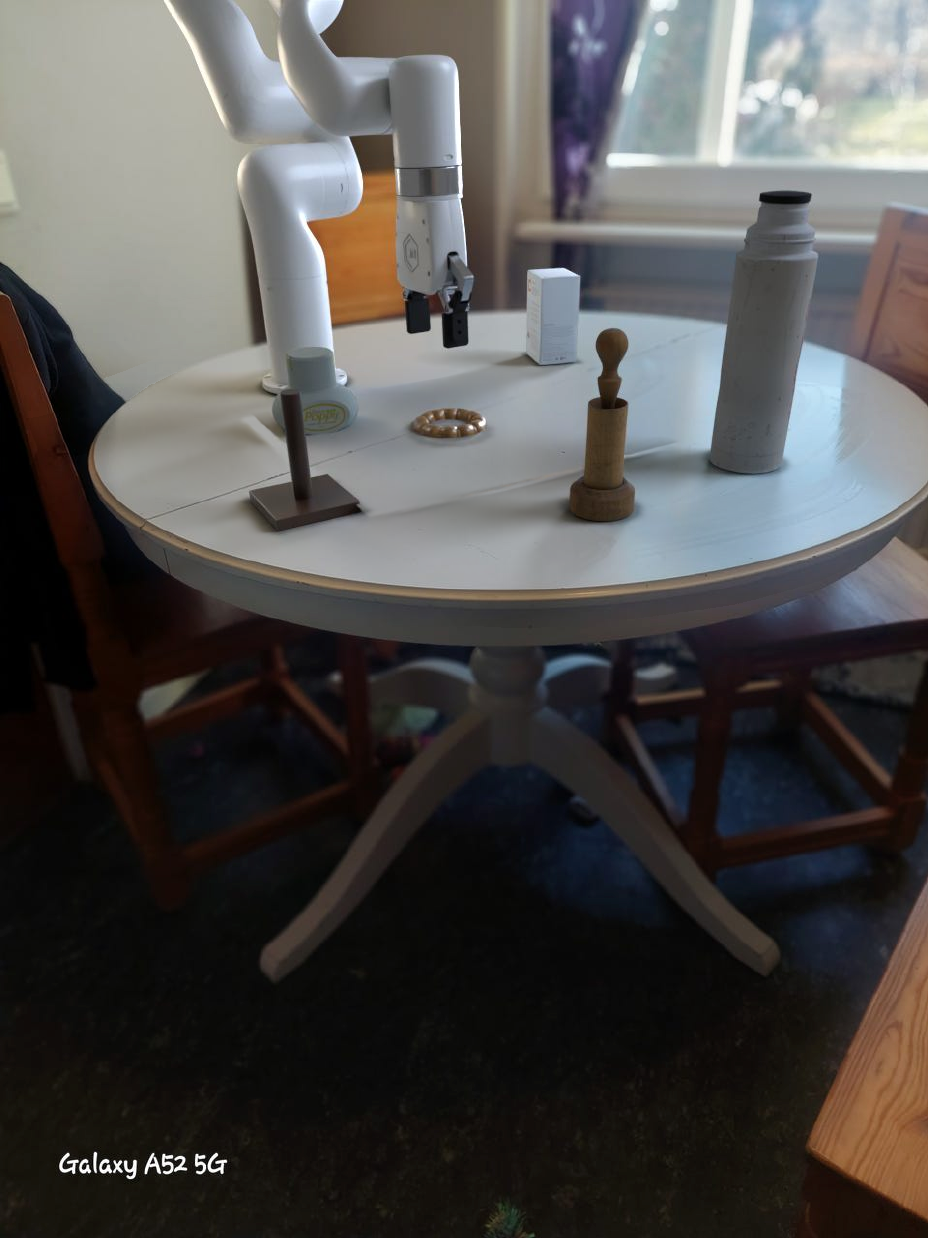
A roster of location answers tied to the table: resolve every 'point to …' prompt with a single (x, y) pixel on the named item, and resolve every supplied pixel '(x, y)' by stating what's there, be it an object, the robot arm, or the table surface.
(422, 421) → the lobed golden ring
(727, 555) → the table surface
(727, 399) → the thermos bottle
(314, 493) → the peg stand
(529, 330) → the small box
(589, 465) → the mortar and pestle
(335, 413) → the air freshener
